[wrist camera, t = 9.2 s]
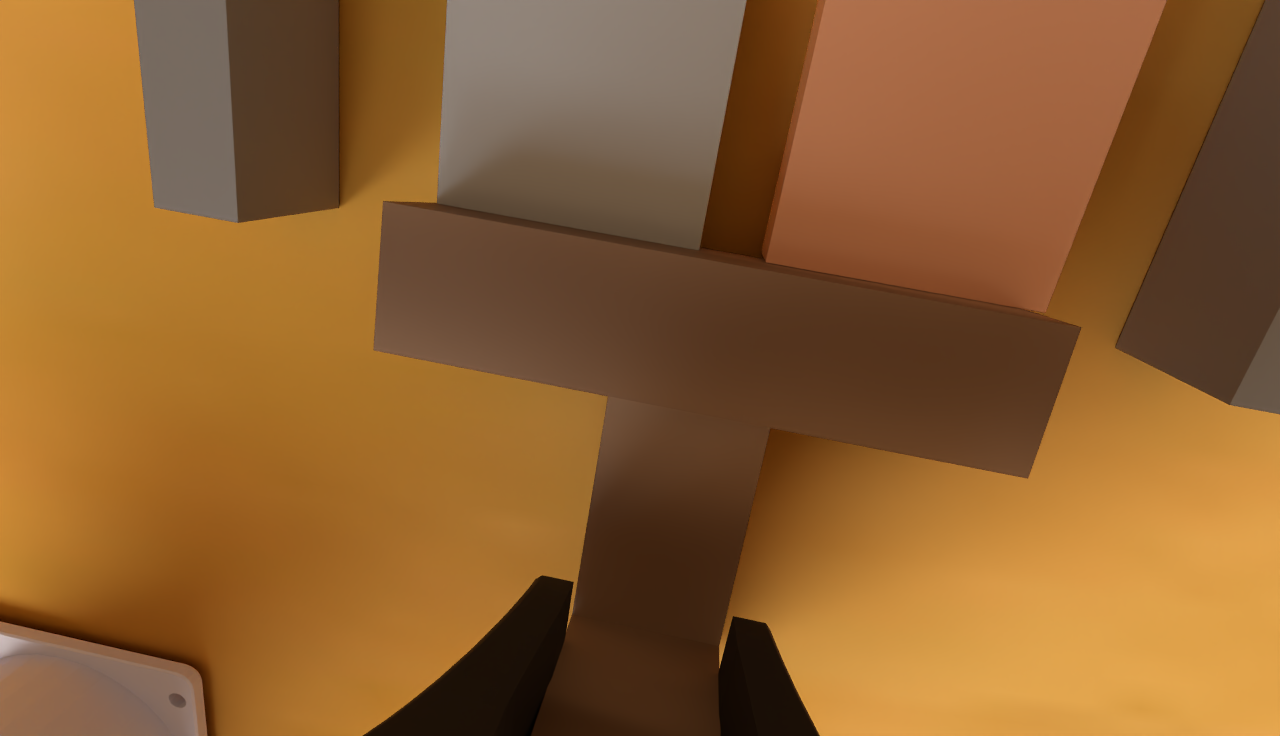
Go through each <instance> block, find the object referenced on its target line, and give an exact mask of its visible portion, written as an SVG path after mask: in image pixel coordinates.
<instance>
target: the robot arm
mask: <svg viewBox="0 0 1280 736" xmlns="http://www.w3.org/2000/svg"><path fill="white" fill-rule="evenodd" d="M572 589H573V582H571V581H566V580H561V579H557V578H552V577H547V576H543V575H542V576H540V577H539V578H537V579H536V580H535V581H534V582H533V583H532V585H531V586H530V587H529V589H528V590H527V591H526V592H525V593H524V595H523V596H522V597H521V598H520V599H519V600H518V602H517V603H516V604H515V605H514V606H513V607H512V608H511V609H510V610H509V612H508V613H507V614H506V615H505V616H504V617H503V618H502V619H501V620H500V621H499V622H498V623H497V624H496V625H495V626H494V627H493V628H492V629H491V630H490V631H489V632H488V633H487V634H486V635H485V636H484V637H483V638H482V639H481V640H480V641H479V642H478V643H477V644H476V645H475V646H474V647H473V648H472V649H471V650H470V651H469V652H468V653H467V654H466V655H465V656H463V657H462V658H461V659H460V660H459V661H458V662H457V663H456V664H454V665H453V666H452V667H451V668H450V669H449V670H448V671H447V672H446V673H444V674H443V675H442V676H441V677H440V678H439V679H438V680H436V681H435V682H434V683H433V684H432V685H430V686H429V687H428V688H427V689H426V690H424V691H423V692H422V693H421V694H419V695H418V696H417V697H416V698H414V699H413V700H412V701H410V702H409V703H408V704H407V705H405V706H404V707H403V708H401V709H400V710H399V711H397V712H396V713H395V714H393V715H392V716H391V717H389V718H388V719H386V720H385V721H384V722H382V723H381V724H379V725H378V726H376V727H375V728H373V729H372V730H370V731H369V732H368V733H366V734H365V735H363V736H531V734H532V731H533V728H534V725H535V722H536V719H537V716H538V713H539V710H540V707H541V705H542V702H543V699H544V696H545V693H546V690H547V687H548V685H549V683H550V681H551V679H552V676H553V673H554V670H555V667H556V664H557V661H558V659H559V656H560V653H561V650H562V647H563V644H564V641H565V635H566V629H567V622H568V615H569V609H570V602H571V595H572ZM718 690H719V719H720V727H721V736H820V735H819V733H818V732H817V730H816V728H815V726H814V724H813V722H812V720H811V718H810V716H809V714H808V712H807V710H806V708H805V706H804V704H803V702H802V701H801V699H800V696H799V694H798V692H797V690H796V688H795V686H794V684H793V682H792V680H791V677H790V675H789V673H788V671H787V669H786V667H785V664H784V662H783V660H782V658H781V655H780V653H779V650H778V648H777V646H776V643H775V641H774V638H773V636H772V633H771V631H770V629H769V627H768V626H767V624H766V623H762V622H757V621H753V620H748V619H743V618H739V617H734V616H733V618H732V622H731V626H730V630H729V634H728V638H727V642H726V645H725V649H724V653H723V657H722V661H721V665H720V669H719V673H718ZM0 736H207V727H206V717H205V707H204V697H203V686H202V679H201V676H200V674H199V673H198V671H197V670H196V669H194V668H193V667H192V666H189V665H187V664H183V663H179V662H175V661H170V660H166V659H162V658H157V657H153V656H149V655H144V654H140V653H135V652H131V651H127V650H122V649H118V648H114V647H109V646H105V645H101V644H96V643H92V642H88V641H83V640H79V639H75V638H70V637H66V636H62V635H57V634H53V633H49V632H44V631H40V630H36V629H31V628H27V627H23V626H18V625H14V624H10V623H5V622H1V621H0Z"/></svg>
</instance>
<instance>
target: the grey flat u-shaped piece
mask: <svg viewBox="0 0 1280 736" xmlns="http://www.w3.org/2000/svg"><path fill="white" fill-rule="evenodd" d="M134 5H135V16H136V26H137V36H138V46H139V56H140V66H141V77H142V87H143V97H144V107H145V117H146V127H147V138H148V148H149V158H150V168H151V178H152V188H153V199H154V207H155V208H160V209H166V210H171V211H177V212H182V213H188V214H193V215H198V216H204V217H209V218H215V219H220V220H226V221H231V222H237V223H240V222H247V221H253V220H260V219H267V218H273V217H280V216H287V215H294V214H300V213H307V212H314V211H321V210H327V209H334V208H339V0H134ZM1115 348H1117V349H1119V350H1121V351H1123V352H1125V353H1127V354H1129V355H1131V356H1133V357H1135V358H1137V359H1139V360H1141V361H1143V362H1145V363H1147V364H1149V365H1151V366H1153V367H1155V368H1157V369H1159V370H1161V371H1163V372H1165V373H1167V374H1169V375H1171V376H1173V377H1175V378H1177V379H1179V380H1181V381H1183V382H1185V383H1187V384H1189V385H1191V386H1193V387H1195V388H1197V389H1199V390H1201V391H1203V392H1205V393H1207V394H1209V395H1211V396H1213V397H1215V398H1217V399H1219V400H1221V401H1223V402H1225V403H1227V404H1229V405H1233V406H1238V407H1244V408H1249V409H1254V410H1260V411H1265V412H1271V413H1276V414H1280V0H1265V2H1264V5H1263V7H1262V9H1261V12H1260V14H1259V16H1258V19H1257V21H1256V23H1255V26H1254V28H1253V30H1252V33H1251V35H1250V37H1249V39H1248V42H1247V44H1246V46H1245V49H1244V51H1243V53H1242V56H1241V58H1240V60H1239V63H1238V65H1237V67H1236V70H1235V72H1234V74H1233V76H1232V79H1231V81H1230V83H1229V86H1228V88H1227V90H1226V93H1225V95H1224V97H1223V100H1222V102H1221V104H1220V107H1219V109H1218V111H1217V113H1216V116H1215V118H1214V120H1213V123H1212V125H1211V127H1210V130H1209V132H1208V134H1207V137H1206V139H1205V141H1204V144H1203V146H1202V148H1201V150H1200V153H1199V155H1198V157H1197V160H1196V162H1195V164H1194V167H1193V169H1192V171H1191V174H1190V176H1189V178H1188V181H1187V183H1186V185H1185V187H1184V190H1183V192H1182V194H1181V197H1180V199H1179V201H1178V204H1177V206H1176V208H1175V211H1174V213H1173V215H1172V218H1171V220H1170V222H1169V224H1168V227H1167V229H1166V231H1165V234H1164V236H1163V238H1162V241H1161V243H1160V245H1159V248H1158V250H1157V252H1156V255H1155V257H1154V259H1153V261H1152V264H1151V266H1150V268H1149V271H1148V273H1147V275H1146V278H1145V280H1144V282H1143V285H1142V287H1141V289H1140V291H1139V294H1138V296H1137V298H1136V301H1135V303H1134V305H1133V308H1132V310H1131V312H1130V315H1129V317H1128V319H1127V322H1126V324H1125V326H1124V328H1123V331H1122V333H1121V335H1120V338H1119V340H1118V342H1117V345H1116V347H1115Z"/></svg>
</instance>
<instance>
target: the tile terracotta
mask: <svg viewBox="0 0 1280 736" xmlns="http://www.w3.org/2000/svg"><path fill="white" fill-rule="evenodd" d="M1166 2H1167V0H818V3H817V7H816V11H815V16H814V20H813V25H812V29H811V34H810V38H809V43H808V47H807V51H806V56H805V60H804V65H803V69H802V74H801V78H800V82H799V87H798V91H797V96H796V100H795V105H794V109H793V114H792V118H791V122H790V127H789V131H788V136H787V140H786V145H785V149H784V153H783V158H782V162H781V167H780V171H779V176H778V180H777V185H776V189H775V193H774V198H773V202H772V207H771V211H770V216H769V220H768V224H767V229H766V233H765V238H764V242H763V247H762V251H761V252H762V255H763V257H764V260H765V262H767V263H772V264H778V265H783V266H789V267H794V268H800V269H805V270H811V271H816V272H822V273H827V274H833V275H839V276H844V277H850V278H855V279H861V280H866V281H872V282H877V283H883V284H888V285H894V286H899V287H905V288H910V289H916V290H921V291H927V292H933V293H938V294H944V295H949V296H955V297H960V298H966V299H971V300H977V301H982V302H988V303H993V304H999V305H1004V306H1010V307H1015V308H1021V309H1027V310H1032V311H1038V312H1043V313H1046V310H1047V308H1048V305H1049V302H1050V300H1051V297H1052V295H1053V292H1054V290H1055V287H1056V284H1057V282H1058V279H1059V277H1060V274H1061V272H1062V269H1063V266H1064V264H1065V261H1066V259H1067V256H1068V254H1069V251H1070V248H1071V246H1072V243H1073V241H1074V238H1075V236H1076V233H1077V230H1078V228H1079V225H1080V223H1081V220H1082V218H1083V215H1084V212H1085V210H1086V207H1087V205H1088V202H1089V200H1090V197H1091V194H1092V192H1093V189H1094V187H1095V184H1096V182H1097V179H1098V176H1099V174H1100V171H1101V169H1102V166H1103V164H1104V161H1105V158H1106V156H1107V153H1108V151H1109V148H1110V146H1111V143H1112V140H1113V138H1114V135H1115V133H1116V130H1117V128H1118V125H1119V122H1120V120H1121V117H1122V115H1123V112H1124V110H1125V107H1126V104H1127V102H1128V99H1129V97H1130V94H1131V92H1132V89H1133V86H1134V84H1135V81H1136V79H1137V76H1138V74H1139V71H1140V68H1141V66H1142V63H1143V61H1144V58H1145V56H1146V53H1147V50H1148V48H1149V45H1150V43H1151V40H1152V38H1153V35H1154V32H1155V30H1156V27H1157V25H1158V22H1159V20H1160V17H1161V14H1162V12H1163V9H1164V7H1165V4H1166Z"/></svg>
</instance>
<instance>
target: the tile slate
mask: <svg viewBox="0 0 1280 736" xmlns="http://www.w3.org/2000/svg"><path fill="white" fill-rule="evenodd" d="M746 3H747V0H447V14H446V34H445V54H444V74H443V94H442V114H441V135H440V155H439V175H438V195H437V204H443V205H448V206H454V207H459V208H465V209H470V210H476V211H482V212H487V213H493V214H498V215H504V216H509V217H515V218H521V219H526V220H532V221H537V222H543V223H548V224H554V225H560V226H565V227H571V228H576V229H582V230H587V231H593V232H599V233H604V234H610V235H615V236H621V237H626V238H632V239H637V240H643V241H649V242H654V243H660V244H665V245H671V246H676V247H682V248H688V249H693V250H699V248H700V244H701V239H702V234H703V229H704V223H705V218H706V213H707V208H708V202H709V197H710V192H711V187H712V181H713V176H714V171H715V166H716V160H717V155H718V150H719V145H720V139H721V134H722V129H723V124H724V118H725V113H726V108H727V103H728V97H729V92H730V87H731V82H732V76H733V71H734V66H735V61H736V55H737V50H738V45H739V39H740V34H741V29H742V24H743V18H744V13H745V8H746Z"/></svg>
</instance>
